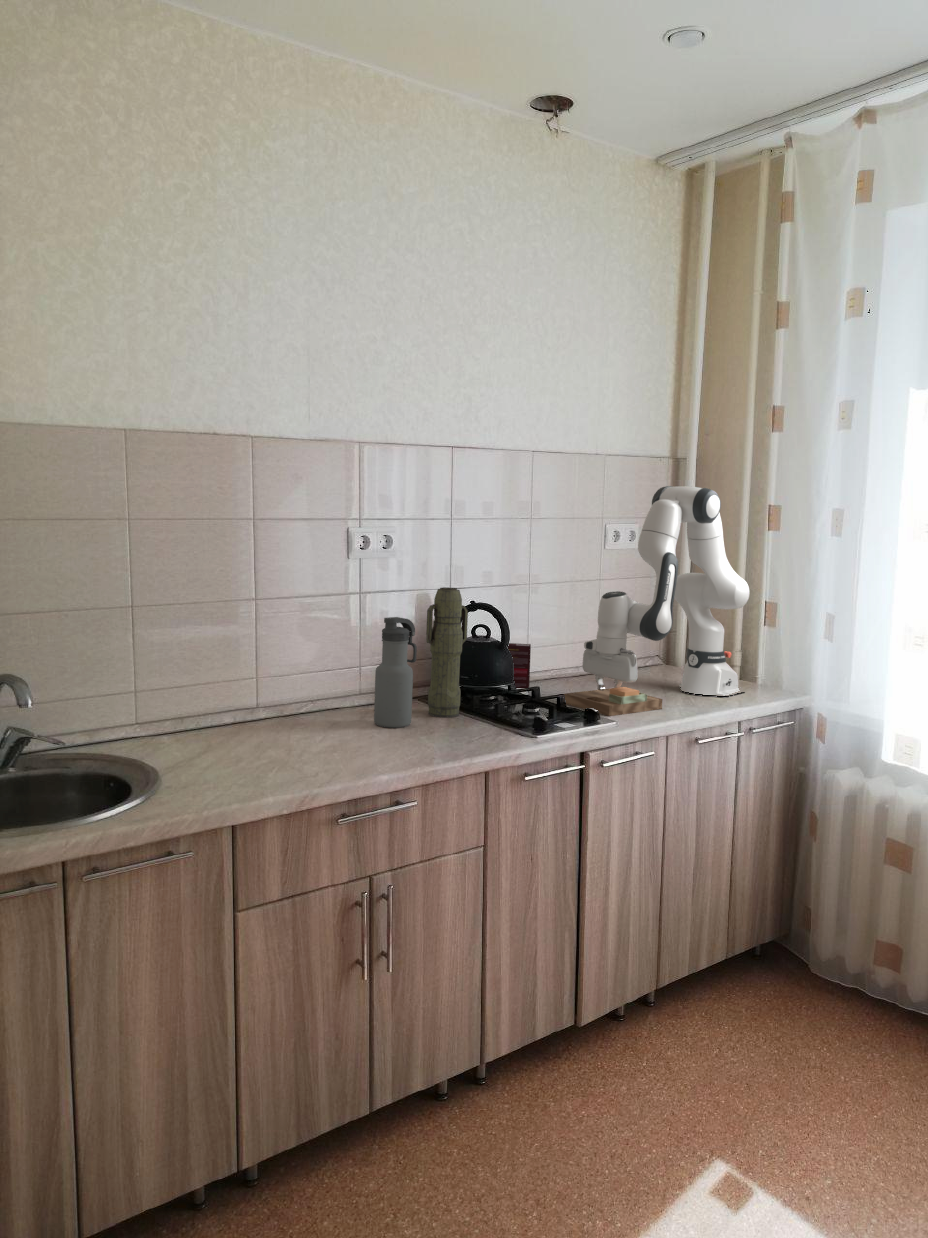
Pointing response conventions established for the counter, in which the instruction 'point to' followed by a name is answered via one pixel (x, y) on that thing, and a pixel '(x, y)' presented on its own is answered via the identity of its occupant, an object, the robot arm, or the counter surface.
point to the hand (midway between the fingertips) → (608, 692)
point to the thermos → (446, 651)
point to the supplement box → (521, 663)
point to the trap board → (613, 702)
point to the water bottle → (395, 675)
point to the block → (623, 691)
